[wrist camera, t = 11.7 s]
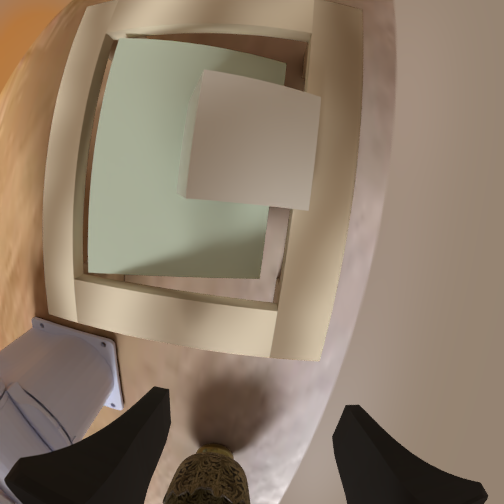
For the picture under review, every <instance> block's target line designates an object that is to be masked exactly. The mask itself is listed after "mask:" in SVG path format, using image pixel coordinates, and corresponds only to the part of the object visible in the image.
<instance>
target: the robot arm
mask: <svg viewBox="0 0 504 504" xmlns="http://www.w3.org/2000/svg"><path fill="white" fill-rule="evenodd" d="M32 326H33V328H31V329H30V330H28V331H27V332H26V333H24V334H23V335H22V336H20V337H19V338H17V339H16V340H15V341H13V342H12V343H11V344H9V345H8V346H7V347H5V348H4V349H3V350H1V351H0V504H144V501H145V497H146V493H147V489H148V486H149V483H150V481H151V478H152V476H153V473H154V471H155V468H156V466H157V463H158V461H159V458H160V456H161V454H162V451H163V449H164V446H165V444H166V440H167V436H168V433H169V428H170V424H171V417H170V398H169V389H164V388H160V387H153V388H152V389H151V390H150V391H149V392H148V393H147V394H146V395H144V396H143V397H142V398H141V399H140V400H139V401H138V402H137V403H136V404H135V405H133V406H132V407H131V408H130V409H129V410H127V411H126V412H125V413H124V414H123V415H121V416H120V417H119V418H117V419H116V420H115V421H113V422H112V423H110V424H109V425H108V426H106V427H105V428H103V429H101V430H100V431H98V432H96V433H95V434H93V435H91V436H89V437H87V438H85V439H83V440H82V438H83V437H84V435H85V433H86V432H87V430H88V429H89V427H90V426H91V424H92V422H93V421H94V419H95V418H96V416H97V415H98V413H99V411H100V410H101V408H102V407H103V405H104V406H107V407H110V408H114V409H117V410H122V409H123V408H124V404H123V398H122V392H121V386H120V379H119V372H118V364H117V356H116V347H115V343H114V341H112V340H111V339H108V338H104V337H100V336H97V335H93V334H89V333H86V332H82V331H79V330H75V329H72V328H69V327H65V326H62V325H59V324H56V323H53V322H50V321H47V320H44V319H41V318H38V317H34V318H32ZM103 342H104V343H105V344H106V345H104V344H103ZM114 404H115V405H114ZM332 439H333V448H334V454H335V459H336V463H337V467H338V470H339V474H340V477H341V481H342V484H343V488H344V492H345V495H346V500H347V504H484V503H485V501H486V500H487V498H488V494H487V493H486V491H485V489H484V488H483V486H482V484H481V483H480V482H475V481H471V480H467V479H463V478H460V477H457V476H454V475H452V474H449V473H447V472H444V471H442V470H440V469H438V468H436V467H434V466H432V465H430V464H428V463H426V462H424V461H423V460H421V459H420V458H418V457H417V456H415V455H414V454H412V453H411V452H409V451H408V450H407V449H406V448H404V447H403V446H402V445H401V444H399V443H398V442H397V441H396V440H395V439H393V438H392V437H391V436H390V435H389V434H388V433H387V432H386V431H385V430H384V429H383V428H382V427H380V426H379V425H378V423H377V422H376V421H375V420H374V419H372V417H371V416H370V415H369V414H368V413H367V412H366V411H365V410H364V409H363V408H362V407H361V406H360V405H346V406H345V408H344V411H343V413H342V416H341V418H340V420H339V423H338V425H337V427H336V429H335V432H334V434H333V436H332Z"/></svg>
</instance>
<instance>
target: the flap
mask: <svg viewBox="0 0 504 504" xmlns="http://www.w3.org/2000/svg"><path fill="white" fill-rule="evenodd" d="M286 64H287V63H283V62H280V61H276V60H272V59H269V58H265V57H261V56H257V55H253V54H248V53H244V52H239V51H235V50H230V49H225V48H219V47H213V46H207V45H201V44H194V43H186V42H178V41H168V40H156V39H138V38H119V41H118V44H117V47H116V51H115V54H114V58H113V61H112V65H111V68H110V72H109V76H108V80H107V84H106V89H105V93H104V98H103V102H102V107H101V112H100V118H99V123H98V129H97V135H96V142H95V149H94V156H93V165H92V174H91V185H90V198H89V217H88V273H106V274H125V275H148V276H173V277H204V278H246V279H260V272H261V264H262V257H263V249H264V242H265V234H266V227H267V219H268V211H269V206H263V205H253V204H243V203H233V202H222V201H211V200H199V199H186V198H184V197H182V196H180V195H179V194H177V193H176V191H177V181H178V172H179V164H180V156H181V148H182V141H183V134H184V127H185V121H186V114H187V108H188V102H189V100H190V98H191V96H192V93H193V91H194V89H195V87H196V85H197V83H198V81H199V79H200V77H201V74H202V72H203V70H204V69H205V70H211V71H217V72H223V73H229V74H234V75H239V76H244V77H249V78H253V79H258V80H262V81H266V82H270V83H274V84H278V85H282V86H284V81H285V73H286Z"/></svg>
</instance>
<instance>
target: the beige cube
mask: <svg viewBox="0 0 504 504" xmlns="http://www.w3.org/2000/svg"><path fill="white" fill-rule="evenodd" d="M320 105H321V97H319V96H316V95H313V94H310V93H307V92H303V91H300V90H296V89H293V88H289V87H286V86H282V85H278V84H274V83H270V82H266V81H262V80H258V79H253V78H249V77H244V76H239V75H234V74H229V73H223V72H217V71H211V70H205V69H204V70H203V72H202V74H201V77H200V79H199V81H198V83H197V85H196V87H195V89H194V91H193V93H192V96H191V98H190V100H189V102H188V108H187V114H186V121H185V127H184V134H183V141H182V148H181V156H180V164H179V172H178V181H177V191H176V193H177V194H179V195H180V196H182V197H184V198H186V199H199V200H211V201H222V202H233V203H243V204H253V205H263V206H272V207H280V208H289V209H297V210H305V211H309V204H310V196H311V188H312V180H313V172H314V164H315V155H316V146H317V137H318V127H319V116H320Z"/></svg>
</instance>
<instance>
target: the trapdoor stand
mask: <svg viewBox="0 0 504 504" xmlns="http://www.w3.org/2000/svg"><path fill="white" fill-rule="evenodd" d="M179 33H228V34H245V35H257V36H267V37H276V38H283V39H290V40H297V41H303V42H308V45H307V48H306V51H305V54H304V62H303V73H302V78H305V87H304V92H307V93H310V94H313V95H316V96H319V97H321V105H320V116H319V127H318V137H317V146H316V155H315V164H314V172H313V180H312V188H311V196H310V204H309V211H305V210H297V209H290V214H289V221H288V229H287V236H286V243H285V249H284V256H283V263H282V269H281V276H280V278H277V280H276V286H275V293H274V299H273V303H271V302H262V301H253V300H245V299H237V298H229V297H221V296H214V295H207V294H200V293H193V292H186V291H179V290H173V289H166V288H160V287H154V286H148V285H142V284H136V283H130V282H124V274H106V273H88V261H86V262H84V263H83V213H84V195H85V182H86V172H87V163H88V154H89V147H90V140H91V134H92V127H93V122H94V116H95V111H96V106H97V101H98V97H99V92H100V88H101V84H102V79H103V75H104V72H105V68H106V64H107V61H108V58H109V59H110V60H111V61H113V58H114V54H115V51H116V47H117V44H118V41H119V38H138V39H147V38H146V37H145V36H150V35H162V34H179ZM362 89H363V11H362V10H361V9H358V8H354V7H350V6H347V5H343V4H339V3H335V2H330V1H326V0H113V1H108V2H104V3H100V4H96V5H92V6H89V7H87V9H86V11H85V13H84V16H83V18H82V20H81V23H80V25H79V28H78V31H77V33H76V36H75V39H74V42H73V44H72V47H71V50H70V53H69V56H68V60H67V63H66V66H65V70H64V73H63V77H62V80H61V84H60V88H59V92H58V96H57V101H56V105H55V110H54V115H53V120H52V126H51V131H50V138H49V144H48V152H47V160H46V169H45V180H44V195H43V260H44V275H45V286H46V296H47V304H48V311H49V314H50V315H53V316H56V317H60V318H63V319H66V320H70V321H73V322H77V323H80V324H84V325H88V326H91V327H95V328H99V329H103V330H107V331H111V332H115V333H120V334H124V335H128V336H133V337H137V338H142V339H147V340H152V341H157V342H162V343H167V344H172V345H178V346H184V347H190V348H196V349H202V350H209V351H216V352H223V353H231V354H239V355H247V356H256V357H266V358H277V359H290V360H304V361H320V357H321V353H322V350H323V346H324V342H325V338H326V334H327V330H328V326H329V322H330V317H331V313H332V309H333V304H334V300H335V295H336V291H337V286H338V281H339V276H340V271H341V266H342V261H343V255H344V250H345V244H346V238H347V232H348V226H349V220H350V213H351V206H352V199H353V192H354V184H355V176H356V167H357V158H358V148H359V137H360V124H361V109H362Z"/></svg>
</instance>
